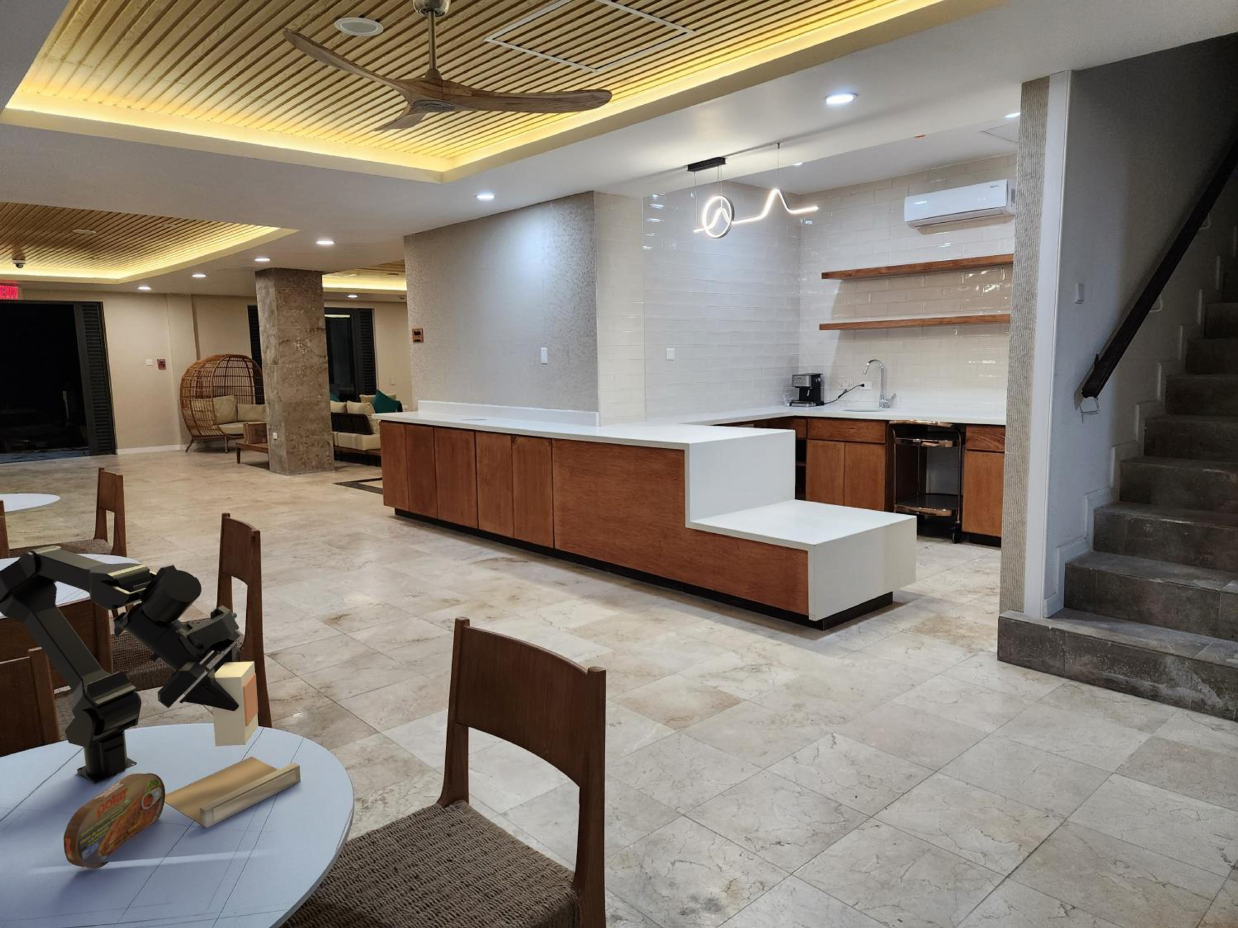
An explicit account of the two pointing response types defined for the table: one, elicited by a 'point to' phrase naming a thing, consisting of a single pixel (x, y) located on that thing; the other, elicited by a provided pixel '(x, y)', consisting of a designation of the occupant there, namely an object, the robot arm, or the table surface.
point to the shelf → (231, 790)
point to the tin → (113, 819)
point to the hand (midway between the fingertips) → (244, 699)
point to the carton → (243, 690)
